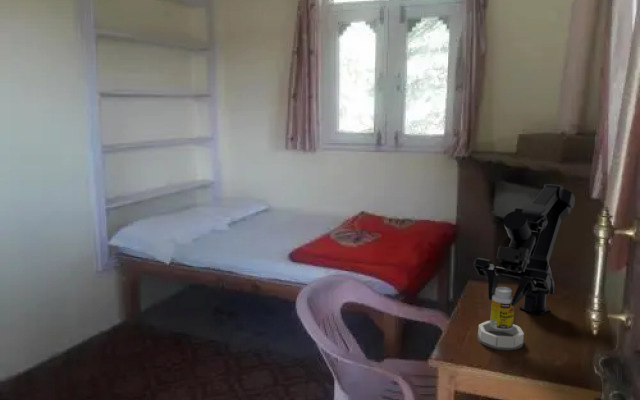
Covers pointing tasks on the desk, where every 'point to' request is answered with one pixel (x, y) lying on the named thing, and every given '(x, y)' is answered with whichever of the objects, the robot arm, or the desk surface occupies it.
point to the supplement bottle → (502, 309)
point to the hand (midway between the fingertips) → (501, 302)
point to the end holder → (500, 337)
